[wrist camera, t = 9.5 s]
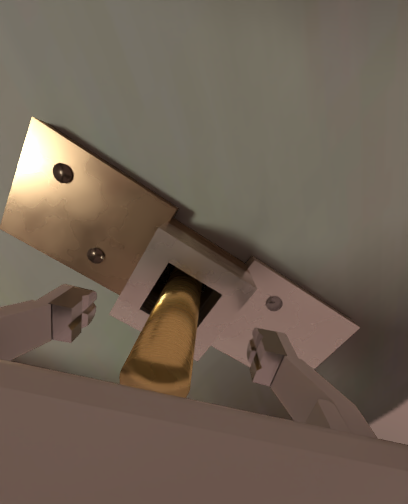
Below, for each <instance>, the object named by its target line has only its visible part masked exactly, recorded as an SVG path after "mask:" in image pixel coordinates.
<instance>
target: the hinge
mask: <svg viewBox="0 0 408 504" xmlns="http://www.w3.org/2000/svg"><path fill="white" fill-rule="evenodd" d="M178 209H179V208H178V207H176V206H175V205H173V204H171V203H170V202H168V201H167V200H165V199H164V198H162V197H161V196H159V195H158V194H156V193H154V192H153V191H151V190H150V189H148V188H147V187H145V186H144V185H142V184H140V183H139V182H137V181H136V180H134V179H133V178H131V177H130V176H128V175H127V174H125V173H123V172H122V171H120V170H119V169H117V168H116V167H114V166H113V165H111V164H109V163H108V162H106V161H105V160H103V159H102V158H100V157H99V156H97V155H96V154H94V153H92V152H91V151H89V150H88V149H86V148H85V147H83V146H82V145H80V144H78V143H77V142H75V141H74V140H72V139H71V138H69V137H68V136H66V135H64V134H63V133H61V132H60V131H58V130H57V129H55V128H54V127H52V126H51V125H49V124H47V123H46V122H43V121H41V120H39V119H36V118H34V117H32V119H31V122H30V125H29V129H28V132H27V136H26V139H25V143H24V146H23V149H22V153H21V156H20V160H19V163H18V166H17V170H16V173H15V177H14V180H13V184H12V187H11V190H10V194H9V197H8V201H7V204H6V208H5V211H4V214H3V218H2V221H1V225H0V229H1V230H3V231H5V232H7V233H8V234H10V235H12V236H14V237H16V238H18V239H19V240H21V241H23V242H25V243H27V244H28V245H30V246H32V247H34V248H36V249H37V250H39V251H41V252H43V253H45V254H46V255H48V256H50V257H52V258H54V259H55V260H57V261H59V262H61V263H63V264H64V265H66V266H68V267H70V268H72V269H73V270H75V271H77V272H79V273H81V274H82V275H84V276H86V277H88V278H90V279H92V280H93V281H95V282H97V283H99V284H101V285H102V286H104V287H106V288H108V289H110V290H111V291H113V292H115V293H117V294H119V295H120V296H119V298H118V299H117V301H116V303H115V305H114V307H113V308H112V310H111V312H110V314H109V315H111V316H113V317H115V318H117V319H119V320H120V321H122V322H124V323H126V324H128V325H130V326H132V327H133V328H135V329H137V330H139V331H142V329H143V327H144V325H145V323H146V321H147V319H148V317H149V316H150V314H151V312H152V310H153V308H154V306H155V304H156V302H157V300H158V298H159V296H160V294H161V292H162V290H163V289H164V287H165V284H164V283H162V282H160V281H158V279H159V277H160V276H161V274H162V273H163V271H164V269H165V268H166V266H167V265H168V263H170V264H172V265H174V266H175V267H177V268H179V269H180V270H182V271H184V272H185V273H187V274H189V275H190V276H192V277H194V278H195V279H197V280H199V281H200V282H202V283H204V284H205V285H207V287H206V289H205V290H204V292H203V293H202V294H201V298H200V307H199V315H198V324H197V332H196V341H195V349H194V358H193V360H195V361H197V362H198V360H199V359H200V358H201V357H202V356H203V354H204V353H205V352H206V351H207V349H208V348H209V347H210V346H212V347H214V348H216V349H218V350H220V351H221V352H223V353H225V354H227V355H229V356H230V357H232V358H234V359H236V360H238V361H240V362H241V363H243V364H245V365H247V366H249V367H250V366H251V364H250V363H249V362H248V359H247V346H248V343H249V340H251V339H252V338H253V336H252V332H253V330H254V328H255V327H256V328H261V329H266V330H271V331H277V332H282V333H285V334H286V335H287V337H288V339H289V341H290V343H291V345H292V346H293V348H294V350H295V352H296V354H297V356H298V358H299V359H302V360H303V361H304V362H306V363H307V364H308V365H309V366H310V367H311V368H313V369H315V368H316V367H317V366H318V365H319V364H321V363H322V362H323V361H324V360H325V359H326V358H327V357H328V356H329V355H331V354H332V353H333V352H334V351H335V350H336V349H337V348H338V347H339V346H341V345H342V344H343V343H344V342H345V341H346V340H347V339H348V338H349V337H350V336H352V335H353V334H354V333H355V332H356V331H357V330H358V329H359V328H360V327H359V326H358V325H357V324H356V323H355V322H354V321H352V320H351V319H350V318H348V317H347V316H345V315H344V314H342V313H341V312H339V311H337V310H336V309H334V308H333V307H331V306H330V305H328V304H327V303H325V302H323V301H322V300H320V299H319V298H317V297H316V296H314V295H313V294H311V293H309V292H308V291H306V290H305V289H303V288H302V287H300V286H299V285H297V284H296V283H294V282H292V281H291V280H289V279H288V278H286V277H285V276H283V275H282V274H280V273H278V272H277V271H275V270H274V269H272V268H271V267H269V266H268V265H266V264H265V263H263V262H261V261H260V260H258V259H257V258H255V257H254V256H251V257H250V259H249V260H248V261H247V263H246V264H245V263H244V262H242V261H241V260H239V259H237V258H236V257H234V256H233V255H231V254H230V253H228V252H226V251H225V250H223V249H222V248H220V247H219V246H217V245H215V244H214V243H212V242H211V241H209V240H207V239H206V238H204V237H203V236H201V235H200V234H198V233H196V232H195V231H193V230H192V229H190V228H189V227H187V226H185V225H184V224H182V223H181V222H179V221H178V220H176V219H174V216H175V214H176V213H177V211H178Z"/></svg>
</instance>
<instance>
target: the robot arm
mask: <svg viewBox="0 0 408 504" xmlns="http://www.w3.org/2000/svg"><path fill="white" fill-rule="evenodd" d="M96 299H97V293H96V292H95V291H92V290H88V289H84V288H80V287H75V286H71V285H67V284H63V285H61V286H59V287H58V288H56V289H54V290H53V291H51V292H49V293H48V294H46V295H44V296H43V297H41V298H39V299H38V300H36V301H34V300H30V301H26V302H21V303H17V304H13V305H8V306H4V307H0V504H408V445H405V444H401V443H396V442H391V441H386V440H382V439H378V438H377V437H376V435H375V434H374V432H373V431H372V429H371V428H370V426H369V425H368V423H367V422H366V420H365V419H364V417H363V416H362V414H361V413H360V411H359V410H358V408H357V407H356V406H355V405H354V404H353V403H352V402H351V401H350V400H349V399H347V398H346V397H345V396H344V395H343V394H342V393H340V392H339V391H338V390H337V389H336V388H335V387H333V386H332V385H331V384H330V383H329V382H328V381H326V380H325V379H324V378H323V377H322V376H321V375H319V374H318V373H317V372H316V371H315V370H314V369H313V368H311V367H310V366H309V365H308V364H307V363H306V362H304V361H303V360H302V359H299V358H298V356H297V354H296V352H295V350H294V348H293V346H292V345H291V343H290V341H289V339H288V337H287V335H286V334H285V333H282V332H277V331H271V330H266V329H261V328H256V327H255V328H254V330H253V332H252V336H253V338H252V339H251V340H249V343H248V346H247V359H248V362H249V363H250V364H251V366H250V373H251V378H252V382H255V383H259V384H263V385H267V386H271V387H270V388H271V389H272V391H273V392H274V393H275V395H276V396H277V398H278V399H279V400H280V402H281V403H282V405H283V406H284V407H285V409H286V410H287V412H288V413H289V414H290V416H291V417H292V419H293V420H294V421H292V420H287V419H282V418H278V417H273V416H268V415H263V414H258V413H254V412H249V411H244V410H239V409H235V408H230V407H225V406H221V405H216V404H211V403H207V402H202V401H197V400H193V399H188V398H183V397H178V396H174V395H169V394H164V393H159V392H155V391H150V390H145V389H140V388H136V387H131V386H126V385H121V384H117V383H112V382H107V381H102V380H98V379H93V378H88V377H83V376H79V375H74V374H69V373H65V372H60V371H55V370H50V369H46V368H41V367H36V366H31V365H27V364H22V363H17V362H12V361H10V360H12V359H14V358H16V357H19V356H21V355H23V354H25V353H27V352H29V351H31V350H33V349H35V348H37V347H39V346H41V345H43V344H45V343H47V342H49V341H51V339H53V340H58V341H64V342H69V343H72V342H73V340H74V339H75V338H76V337H77V336H78V335H79V334H80V333H81V328H83V327H86V326H88V325H89V324H90V322H91V321H92V319H93V318H94V316H95V312H96V306H95V304H94V303H93V302H94V301H95V300H96Z"/></svg>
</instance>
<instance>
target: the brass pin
mask: <svg viewBox="0 0 408 504" xmlns="http://www.w3.org/2000/svg"><path fill="white" fill-rule="evenodd" d="M201 290H202V282H200V281H199V280H197V279H195V278H194V277H192V276H190V275H189V274H187V273H185V272H184V271H182V270H180V269H179V268H177V267H174V269H173V271H172V273H171V275H170V277H169V279H168V281H167V283H166V285H165V287H164V289H163V290H162V292H161V294H160V296H159V298H158V300H157V302H156V304H155V306H154V308H153V310H152V312H151V314H150V316H149V317H148V319H147V321H146V323H145V325H144V327H143V329H142V331H141V333H140V335H139V337H138V339H137V341H136V343H135V344H134V346H133V348H132V350H131V352H130V354H129V356H128V358H127V360H126V362H125V364H124V366H123V368H122V370H121V372H120V384H121V385H126V386H131V387H136V388H140V389H145V390H150V391H155V392H159V393H164V394H169V395H174V396H178V397H183V398H186V397H187V395H188V393H189V390H190V383H191V375H192V366H193V358H194V349H195V341H196V332H197V324H198V315H199V307H200V298H201Z"/></svg>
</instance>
